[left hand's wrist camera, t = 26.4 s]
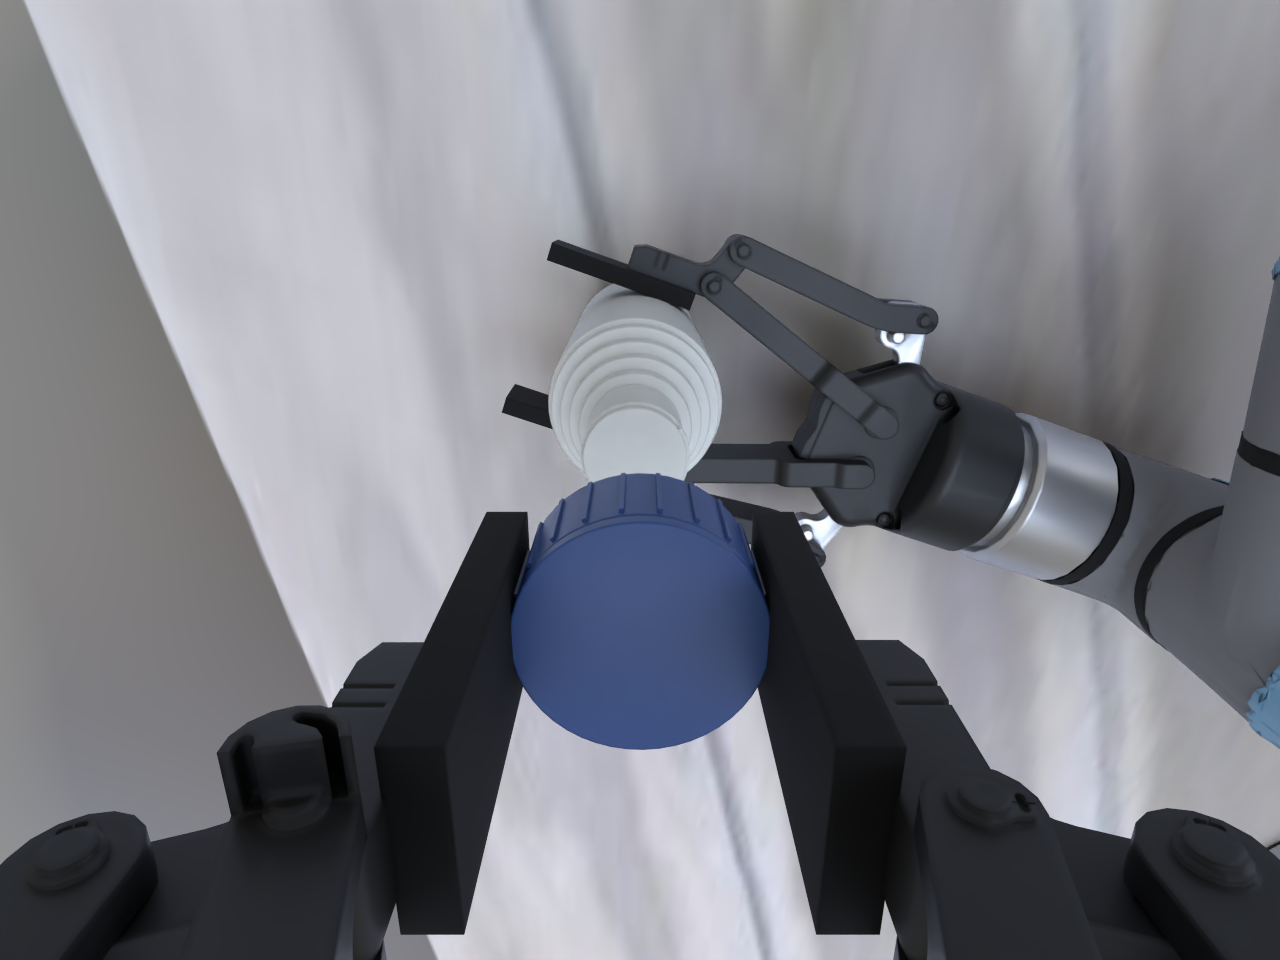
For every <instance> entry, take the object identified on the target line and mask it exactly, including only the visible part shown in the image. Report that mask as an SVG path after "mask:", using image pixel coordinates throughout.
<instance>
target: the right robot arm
mask: <svg viewBox="0 0 1280 960" xmlns="http://www.w3.org/2000/svg"><path fill="white" fill-rule="evenodd" d="M547 260H548V261H551V262H554V263H557V264H560V265H562V266H565V267H568V268H571V269H574V270H577V271H579V272H582V273H585V274H588V275H591V276H593V277H596V278H599V279H602V280H605V281H608V282H610V283H613V284H616V285H619V286H622V287H624V288H627V289H630V290H633V291H636V292H639V293H641V294H644V295H647V296H650V297H653V298H655V299H659V300H661V301H664V302H667V303H670V304H672V305H675V306H678V307H681V308H684V309H686V310H689V311H690V308H691V305H692V302H693V300H694V297H695V294H697V295H700V296H703V297H705V298H707V299H708V300H709V301H710V302H711V303H713V304H714V305H715V306H716V307H718V308H719V309H720V310H721V311H723V312H724V313H725V314H726V315H728V316H729V317H730V318H731V319H732V320H734V321H735V322H736V323H737V324H739V325H740V326H741V327H742V328H744V329H745V330H746V331H747V332H749V333H750V334H751V335H752V336H753V337H755V338H756V339H757V340H758V341H760V342H761V343H762V344H763V345H765V346H766V347H767V348H768V349H769V350H771V351H772V352H773V353H774V354H776V355H777V356H778V357H779V358H781V359H782V360H783V361H784V362H786V363H787V364H788V365H789V366H790V367H792V368H793V369H794V370H795V371H797V372H798V373H799V374H800V375H802V376H803V377H804V378H805V379H807V380H808V381H809V382H810V383H811V384H813V385H814V386H815V387H816V388H815V391H814V393H813V395H812V398H811V400H810V405H809V411H808V417H807V419H806V420H805V421H804V423H803V424H802V425H801V427H800V428H799V429H798V430H797V433H796V435H795V437H794V439H793V441H777V442H772V443H771V444H711V445H710V446H709V448H708V450H707V451H706V453H705V454H704V456H703V457H702V458H701V459H700V461H699V462H698V463H697V464H696V465H695V466H694V467H693V468H692V469H691V470H689V471H688V472H687V474H686V477H685V479H684V481H685V482H688V483H689V482H692V483H774V484H778V485H781V486H784V487H810V488H811V489H812V491H813V492H814V494H815V495H816V497H817V498H818V500H819V501H820V503H821V504H822V506H823V507H824V509H823V510H822V511H821V512H819V513H817V514H809V513H805V512H797V513H795V516H796V518H797V520H798V522H799V524H800V526H801V528H802V530H803V532H804V534H805V536H806V539H807V541H808V543H809V545H810V547H811V549H812V551H813V553H814V555H815V557H816V559H817V561H818V563H819V566H820V567H822V566H823V565H824V563H825V561H826V556H825V553H824V551H823V550H824V549H825V547H826V546H827V545H828V544H829V543H830V541H831V540H832V539H833V538H834V537H835V535H836V534H837V533H838V532H839V531H840V529H841V528H842V527H843V526H845V527H855V526H861V525H872V526H876V527H879V528H882V529H885V530H888V531H890V532H893V533H897V534H900V535H903V536H906V537H909V538H912V539H915V540H918V541H921V542H924V543H927V544H930V545H933V546H936V547H939V548H942V549H945V550H949V551H957V550H959V551H960V552H961V554H962V555H965V556H967V557H969V558H971V559H974V560H978V561H981V562H984V563H987V564H990V565H994V566H997V567H1000V568H1003V569H1007V570H1010V571H1013V572H1016V573H1019V574H1023V575H1026V576H1029V577H1032V578H1036V579H1038V580H1041V581H1043V582H1046V583H1049V584H1053V585H1056V586H1059V587H1062V588H1065V589H1068V590H1071V591H1074V592H1076V593H1079V594H1082V595H1085V596H1088V597H1091V598H1094V599H1096V600H1099V601H1101V602H1104V603H1106V604H1108V605H1110V606H1112V607H1113V608H1115V609H1117V610H1118V611H1120V612H1121V613H1122V614H1123V615H1124V616H1126V617H1127V618H1128V619H1129V620H1130V621H1131V622H1133V623H1134V624H1135V625H1136V626H1137V627H1138V628H1140V629H1141V630H1142V631H1143V632H1144V633H1145V634H1147V635H1148V636H1149V637H1150V638H1151V639H1153V640H1154V641H1155V642H1156V643H1158V644H1160V645H1161V646H1162V647H1163V648H1165V649H1166V650H1168V651H1169V652H1171V653H1172V654H1173V655H1174V656H1175V657H1176V658H1177V659H1178V660H1180V661H1181V662H1182V663H1183V664H1184V665H1185V666H1186V667H1188V668H1189V669H1190V670H1191V671H1192V672H1193V673H1194V674H1196V675H1197V676H1198V677H1199V678H1200V679H1201V680H1202V681H1204V682H1205V683H1206V684H1207V685H1208V686H1209V687H1210V688H1212V689H1213V690H1214V691H1215V692H1216V693H1217V694H1218V695H1219V696H1220V697H1221V698H1223V699H1224V700H1225V701H1226V702H1227V703H1228V704H1229V705H1230V706H1231V707H1233V708H1234V709H1235V710H1236V711H1237V712H1238V713H1239V714H1240V715H1241V716H1242V717H1244V718H1245V719H1246V720H1247V721H1248V722H1249V725H1250V727H1251V728H1252V729H1253V730H1254V731H1255V732H1256V733H1258V734H1259V735H1260V736H1261V737H1263V738H1264V739H1266V740H1268V741H1269V742H1271V743H1272V744H1274V745H1275V746H1276V747H1278V748H1279V749H1280V257H1279V260H1278V261H1277V262H1276V263H1275V264H1274V269H1273V270H1272V279H1273V280H1275V281H1274V286H1273V291H1272V296H1271V301H1270V305H1269V310H1268V315H1267V320H1266V325H1265V329H1264V334H1263V339H1262V344H1261V349H1260V353H1259V358H1258V363H1257V368H1256V373H1255V377H1254V382H1253V387H1252V392H1251V397H1250V401H1249V406H1248V411H1247V416H1246V420H1245V425H1244V430H1243V431H1242V434H1241V438H1240V443H1239V447H1238V449H1237V453H1236V457H1235V462H1234V466H1233V470H1232V475H1231V479H1230V483H1229V482H1226V481H1223V480H1220V479H1215V478H1212V479H1208V478H1205V477H1202V476H1199V475H1197V474H1194V473H1191V472H1188V471H1185V470H1182V469H1180V468H1177V467H1174V466H1170V465H1167V464H1164V463H1161V462H1158V461H1155V460H1152V459H1149V458H1146V457H1143V456H1140V455H1137V454H1134V453H1131V452H1128V451H1125V450H1122V449H1119V448H1116V447H1114V446H1112V445H1110V444H1108V443H1105V442H1103V441H1100V440H1098V439H1095V438H1092V437H1089V436H1087V435H1084V434H1081V433H1078V432H1076V431H1073V430H1070V429H1067V428H1065V427H1062V426H1059V425H1056V424H1054V423H1051V422H1048V421H1045V420H1043V419H1040V418H1037V417H1034V416H1032V415H1029V414H1025V413H1014V412H1013V411H1012V410H1011V409H1010V408H1009V407H1007V406H1004V405H1001V404H999V403H996V402H993V401H990V400H987V399H985V398H982V397H979V396H976V395H973V394H971V393H968V392H965V391H962V390H959V389H957V388H954V387H951V386H948V385H945V384H943V383H940V382H938V381H935V380H934V379H933V378H932V377H931V376H930V375H929V373H928V372H927V371H926V369H925V368H923V367H922V366H921V365H920V362H921V357H922V352H923V347H924V342H925V336H926V334H929V333H930V332H932V331H933V330H934V329H935V328H936V326H937V324H938V315H937V313H936V311H934V310H933V309H932V308H929V307H926V306H924V305H921V304H918V303H915V302H912V301H907V300H893V299H880V298H875V297H873V296H871V295H869V294H867V293H865V292H863V291H860V290H858V289H856V288H854V287H852V286H850V285H848V284H846V283H844V282H842V281H840V280H837V279H835V278H833V277H831V276H829V275H827V274H825V273H823V272H821V271H819V270H817V269H814V268H812V267H810V266H808V265H806V264H804V263H802V262H800V261H798V260H796V259H794V258H791V257H789V256H787V255H785V254H783V253H781V252H779V251H777V250H775V249H773V248H771V247H769V246H766V245H764V244H762V243H760V242H758V241H756V240H754V239H752V238H750V237H747V236H744V235H740V234H735V235H732V236H730V237H729V238H728V239H727V240H726V242H725V244H724V245H723V247H722V248H721V249H720V250H719V252H718V253H717V254H716V255H715V256H714V257H713V258H712V259H711V260H710V261H708V262H705V263H697V262H694V261H691V260H688V259H685V258H683V257H680V256H677V255H674V254H672V253H669V252H666V251H663V250H660V249H658V248H655V247H652V246H649V245H635V246H634V249H633V252H632V255H631V258H630V261H629V264H628V265H627V264H625V263H622V262H619V261H616V260H613V259H611V258H608V257H605V256H602V255H600V254H597V253H594V252H591V251H588V250H586V249H583V248H580V247H577V246H574V245H572V244H569V243H566V242H563V241H560V240H556V241H554V242H552V245H551V248H550V251H549V255H548V258H547ZM745 268H746V269H748V270H750V271H753V272H755V273H757V274H759V275H761V276H763V277H765V278H767V279H770V280H772V281H774V282H776V283H778V284H780V285H782V286H784V287H787V288H789V289H791V290H793V291H795V292H797V293H799V294H801V295H803V296H806V297H808V298H810V299H812V300H814V301H816V302H818V303H820V304H823V305H825V306H827V307H829V308H831V309H833V310H835V311H837V312H839V313H842V314H844V315H846V316H848V317H850V318H852V319H854V320H856V321H859V322H861V323H863V324H865V325H867V326H870V327H872V328H875V337H876V339H877V341H878V342H880V343H881V344H883V345H884V346H886V347H889V348H891V350H892V352H893V359H892V360H889V361H885V362H882V363H878V364H875V365H872V366H868V367H865V368H861V369H858V370H854V371H851V372H847V373H844V374H843V373H842V372H840V371H839V370H838V369H837V368H836V367H834V366H833V365H832V364H831V363H829V362H828V361H827V360H826V359H825V358H823V357H822V356H821V355H820V354H819V353H817V352H816V351H815V350H814V349H812V348H811V347H810V346H809V345H808V344H806V343H805V342H804V341H803V340H801V339H800V338H799V337H798V336H797V335H795V334H794V333H793V332H792V331H791V330H789V329H788V328H787V327H786V326H784V325H783V324H782V323H781V322H780V321H778V320H777V319H776V318H775V317H774V316H772V315H771V314H770V313H769V312H767V311H766V310H765V309H764V308H763V307H761V306H760V305H759V304H758V303H757V302H755V301H754V300H753V299H752V298H750V297H749V296H748V295H747V294H746V293H744V292H743V291H742V290H741V289H740V288H738V287H737V286H736V285H735V284H733V282H734V281H735V280H736V279H737V277H738V276H739V275H740V274H741V273H742V271H743V270H744V269H745ZM548 397H549V395H547V394H544V393H541V392H538V391H535V390H532V389H528V388H525V387H522V386H519V385H516V384H515V385H514V387H513V388H512V390H511V391H510V393H509V394H508V396H507V397H506V400H505V404H504V407H503V410H502V413H505V414H508V415H511V416H514V417H517V418H520V419H523V420H526V421H529V422H532V423H535V424H539V425H542V426H545V427H548V428H551V429H553V428H552V425H551V421H550V416H549V406H548ZM710 495H711V494H710ZM711 496H713V497H714V498H715V499H716V500H718V499H720V500H721V501H722V504H723V506H724V507H725V508H726V509H727V510H728V511H729V512H730V513H731V514H732V516H733V517H734V518H735V520H736V521H737V523H740V522H741V523H742V525H743V528H744V531H745V534H746V538H747V541H748V544H751V542H752V523H753V512H780V511H777V510H774V509H770V508H766V507H762V506H758V505H754V504H749V503H745V502H741V501H737V500H732V499H728V498H724V497H720V496H716V495H711Z"/></svg>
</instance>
